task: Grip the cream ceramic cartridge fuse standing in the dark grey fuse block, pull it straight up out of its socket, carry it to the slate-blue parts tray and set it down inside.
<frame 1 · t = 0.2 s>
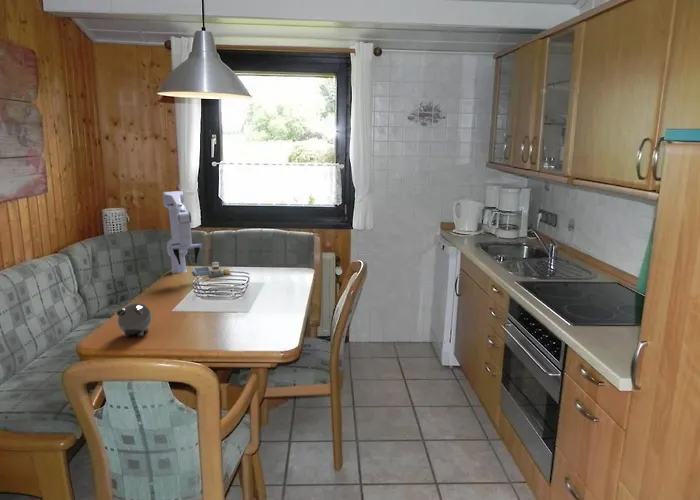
hand: (187, 263, 264), 10 cm above the table, tool pointing down, fingers open, 7 cm apart
fuse: (216, 275, 277), point 1 cm above the table, touching fuse block
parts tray: (202, 274, 284), on the table
piggy bank: (136, 335, 196), on the table
fuse block: (221, 276, 278), on the table
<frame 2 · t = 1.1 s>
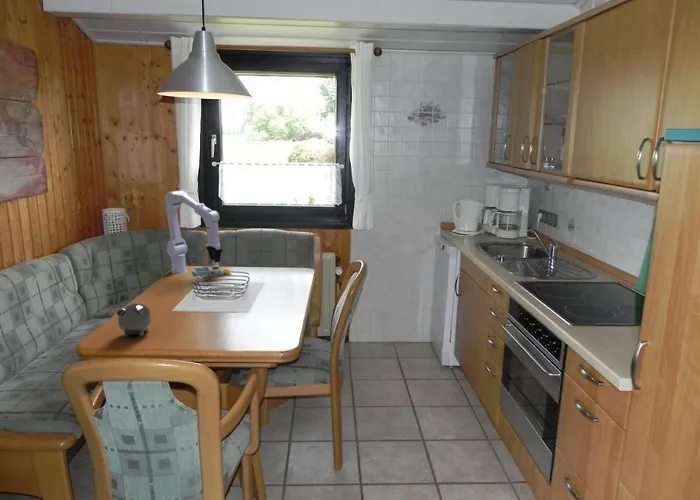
hand: (215, 261, 275), 8 cm above the table, tool pointing down, fingers open, 7 cm apart
nothing on the table moved.
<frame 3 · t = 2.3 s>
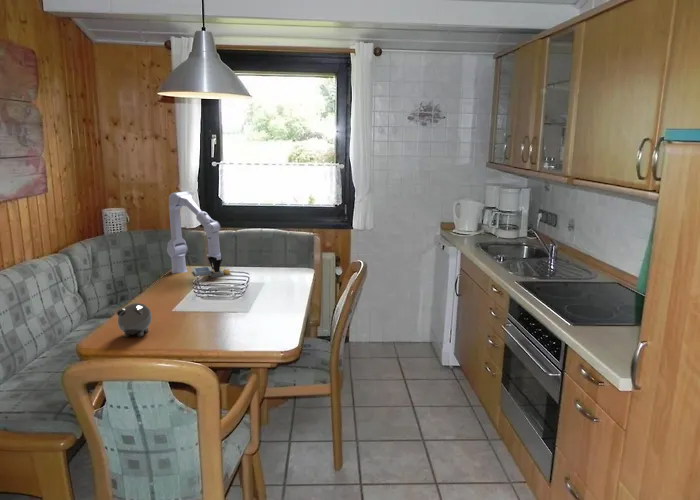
hand: (215, 271, 276), 3 cm above the table, tool pointing down, fingers closed on fuse, 3 cm apart
fuse: (216, 275, 277), point 1 cm above the table, touching fuse block, gripper
everything else where it was.
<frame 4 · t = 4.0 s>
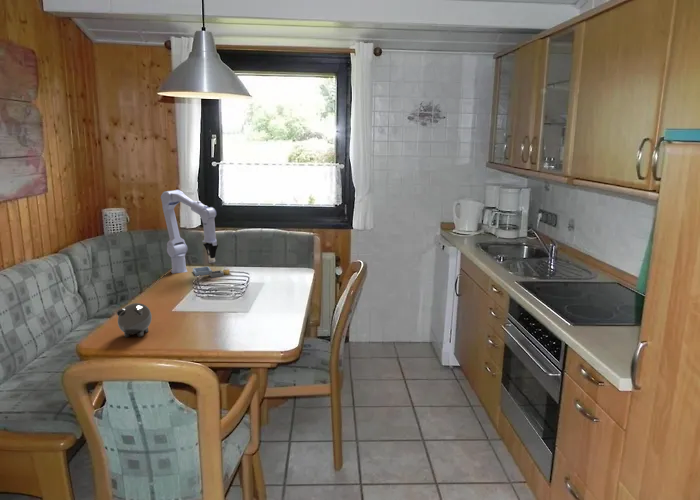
hand: (211, 257, 276), 10 cm above the table, tool pointing down, fingers closed on fuse, 3 cm apart
fuse: (212, 261, 277), point 8 cm above the table, touching gripper
everything else where it was.
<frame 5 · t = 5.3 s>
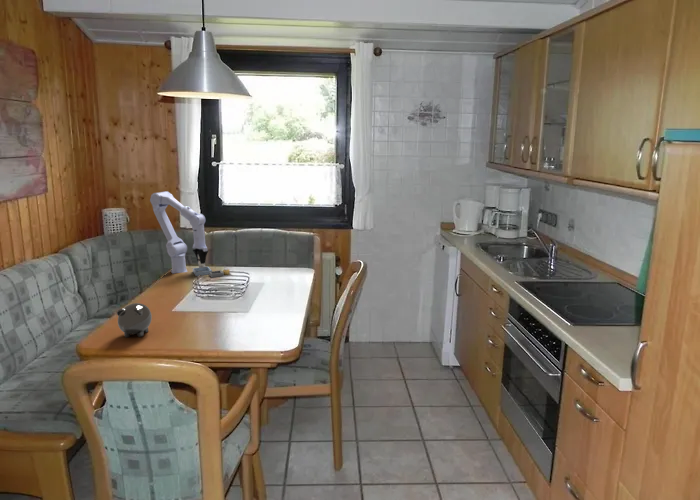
hand: (201, 262, 282), 6 cm above the table, tool pointing down, fingers closed on fuse, 3 cm apart
fuse: (202, 267, 283), point 4 cm above the table, touching gripper
everything else where it was.
when the fingers open (4 cm above the table, at t = 6.1 s): fuse stays where it is, resting on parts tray.
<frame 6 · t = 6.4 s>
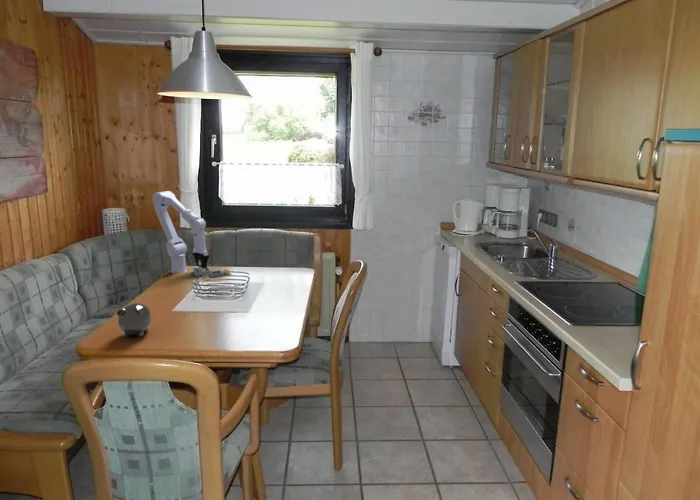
hand: (201, 267, 283), 4 cm above the table, tool pointing down, fingers open, 6 cm apart
fuse: (202, 273, 284), point 1 cm above the table, touching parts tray
everything else where it was.
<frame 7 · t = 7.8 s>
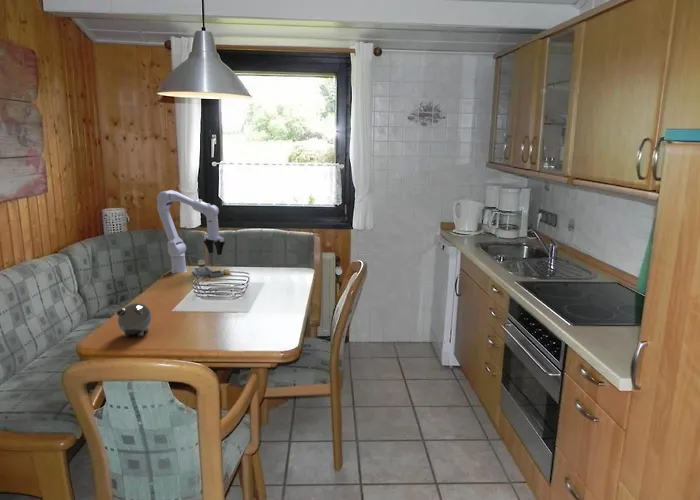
hand: (215, 253, 284), 10 cm above the table, tool pointing down, fingers open, 7 cm apart
nothing on the table moved.
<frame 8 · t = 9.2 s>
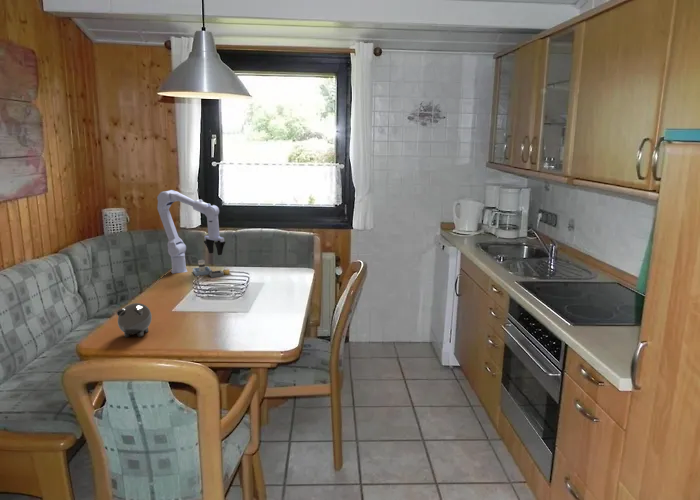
hand: (215, 253, 284), 10 cm above the table, tool pointing down, fingers open, 7 cm apart
nothing on the table moved.
at the end: fuse inside the target area on the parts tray (0.0 cm from its centre), point 0.5 cm above the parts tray's base; the gripper is holding nothing; fuse touching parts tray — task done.
